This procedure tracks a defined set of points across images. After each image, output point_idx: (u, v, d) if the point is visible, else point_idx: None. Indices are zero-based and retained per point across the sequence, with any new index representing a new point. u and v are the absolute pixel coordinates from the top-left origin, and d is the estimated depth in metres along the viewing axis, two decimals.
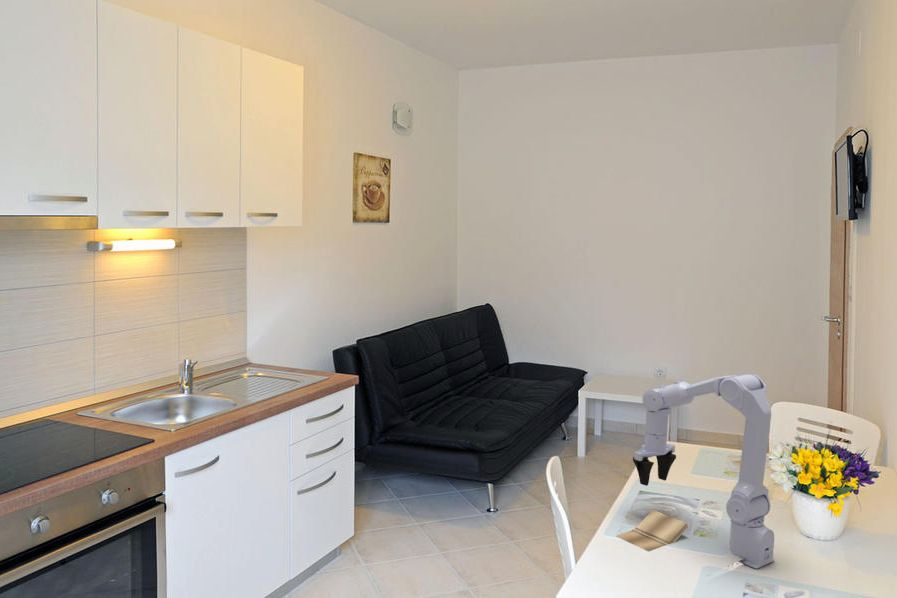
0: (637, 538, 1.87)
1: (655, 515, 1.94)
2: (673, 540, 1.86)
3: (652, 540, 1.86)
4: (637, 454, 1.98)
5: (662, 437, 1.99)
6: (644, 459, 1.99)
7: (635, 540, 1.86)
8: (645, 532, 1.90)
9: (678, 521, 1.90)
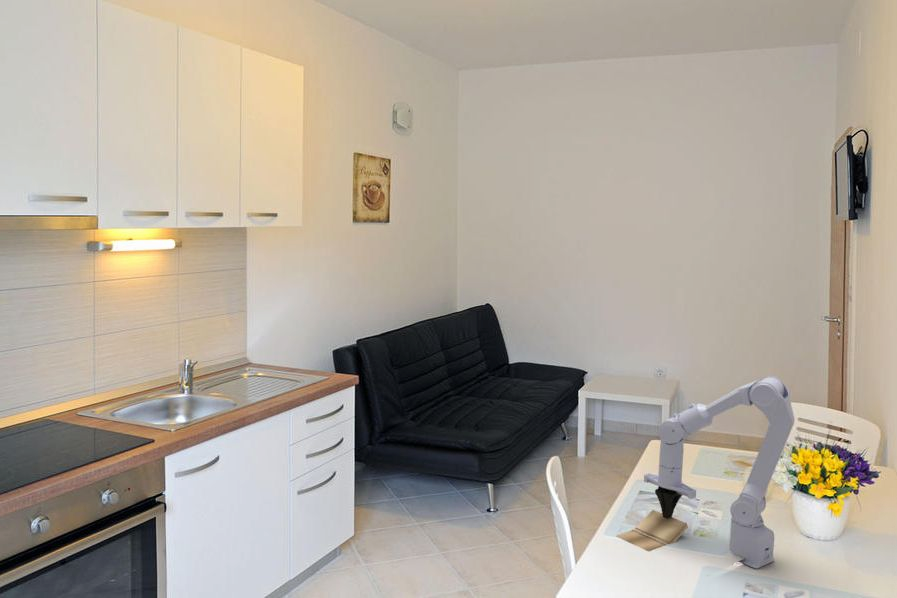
0: (637, 538, 1.87)
1: (655, 515, 1.94)
2: (673, 540, 1.86)
3: (652, 540, 1.86)
4: None
5: (661, 468, 1.89)
6: None
7: (635, 540, 1.86)
8: (645, 532, 1.90)
9: (678, 521, 1.90)
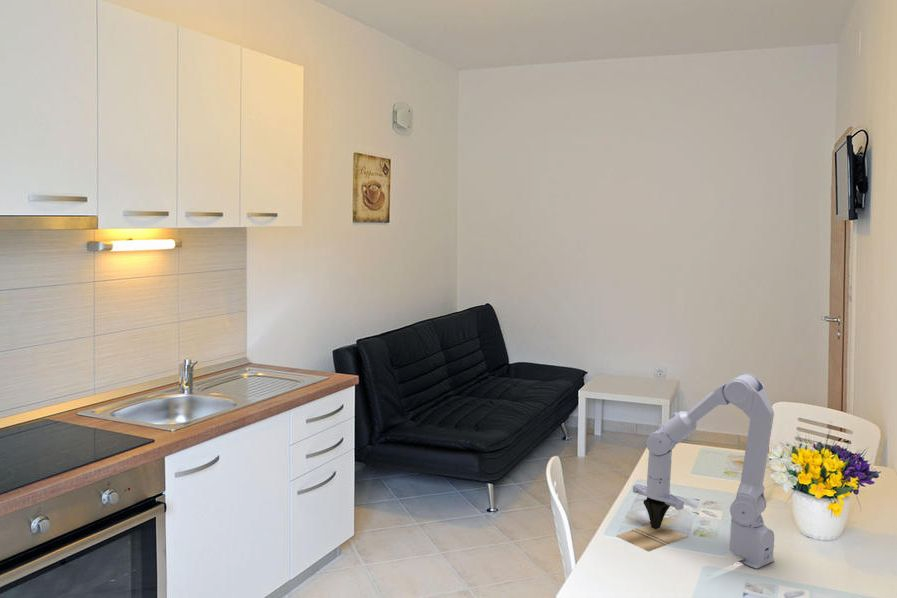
0: (637, 538, 1.87)
1: None
2: None
3: (652, 540, 1.86)
4: None
5: (649, 479, 1.92)
6: None
7: (635, 540, 1.86)
8: (645, 533, 1.90)
9: (679, 534, 1.91)
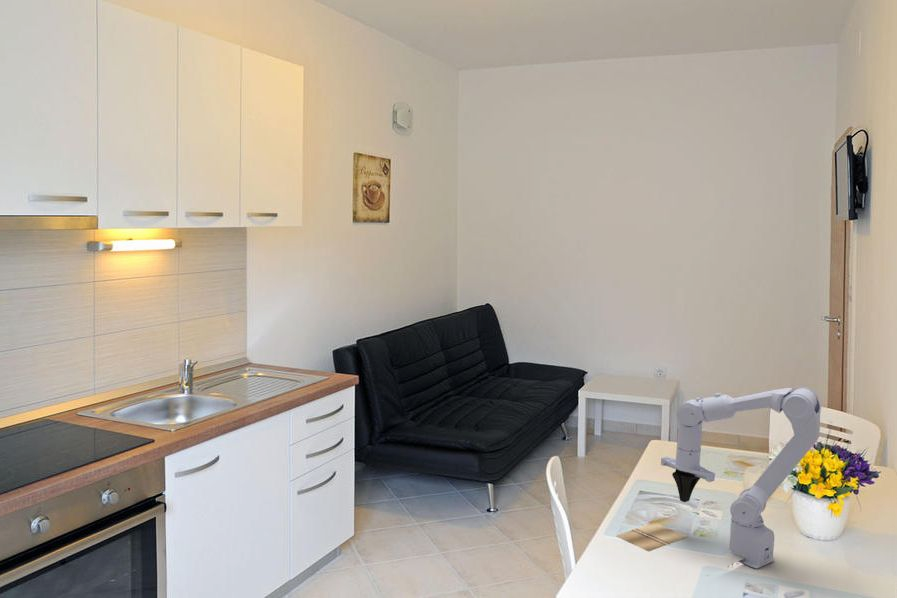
0: (637, 538, 1.87)
1: (656, 526, 1.95)
2: None
3: (652, 540, 1.86)
4: None
5: (679, 450, 1.87)
6: None
7: (635, 540, 1.86)
8: (645, 533, 1.90)
9: (679, 534, 1.91)
